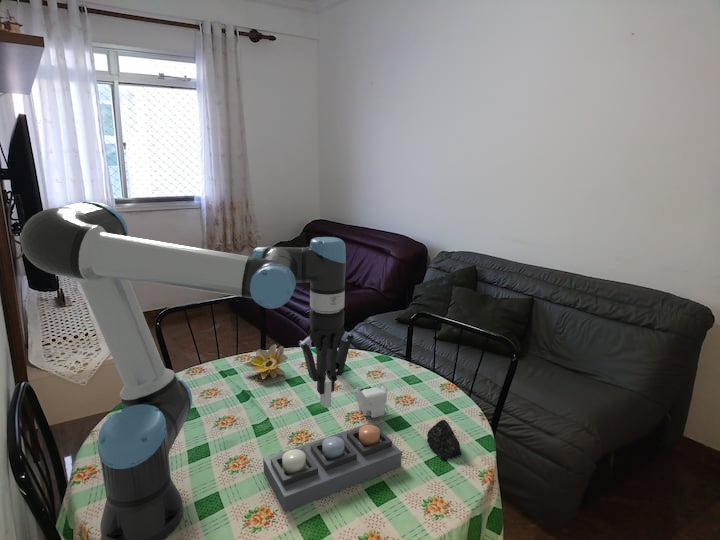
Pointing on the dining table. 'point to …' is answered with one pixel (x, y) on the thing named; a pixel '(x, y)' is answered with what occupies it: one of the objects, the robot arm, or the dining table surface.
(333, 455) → the slate button
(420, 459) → the dining table surface
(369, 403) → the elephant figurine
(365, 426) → the terracotta button
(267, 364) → the decorative flower
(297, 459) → the ivory button
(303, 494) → the console
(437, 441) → the rock
